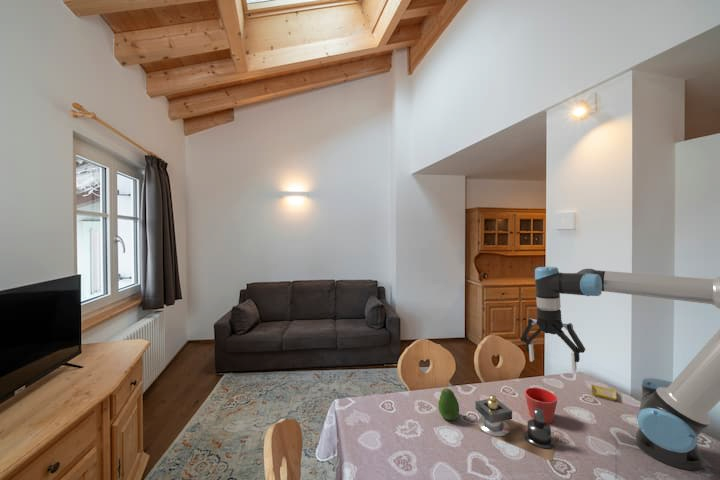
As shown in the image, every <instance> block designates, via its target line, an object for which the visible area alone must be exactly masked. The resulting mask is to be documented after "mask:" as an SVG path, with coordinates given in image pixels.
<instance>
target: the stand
mask: <svg viewBox="0 0 720 480" xmlns="http://www.w3.org/2000/svg"><path fill="white" fill-rule="evenodd" d="M527 426H528V430H527V431H526V432H525V438H526V440H527V441H528V442H529V443H530V444H532V445H534V446H536V447H538V448H542V449H551V448H553V447H554V445H555V442H554V440H553V438H552V437H551V435H552V433H551V432H552V429H551V428H552V427H551V426H550V425H549V423H545V422H544V411H543V410H542V409H540V408H534V419H533V418H531V419H529V420H528V421H527Z"/></svg>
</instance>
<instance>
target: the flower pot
mask: <svg viewBox="0 0 720 480" xmlns="http://www.w3.org/2000/svg"><path fill="white" fill-rule="evenodd" d="M524 393H525V394H524V395H525V399H526V401H525V402H526V406H527V410H528V414H529V416H530V418H531V419H534V408H540V409H542V410H543V411H544V422H545V423H547V424H550V423H553V421H554V418H555V413H556V409H557V402H558V398H557V395H555V394H554V393H553V392H551V391H548V390H547V389H544V388H539V387H528V388H526V389H525V391H524Z"/></svg>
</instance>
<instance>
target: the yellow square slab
mask: <svg viewBox="0 0 720 480" xmlns="http://www.w3.org/2000/svg"><path fill="white" fill-rule="evenodd" d="M590 387H591V389H590V393H591V394H592V396H595V397H598V398H601V399H604V398H605V400H608V399H609V400H608V401H612V400H613V402H614V401H616V400H617V399H618V396H617V390H616V389H612V388H608V387H603V386H600V385H596V384H591V386H590ZM600 391H604V392H610V393H613V398H612V397H609V396H607V395H606V394H604V393H603V394H602V392H600Z"/></svg>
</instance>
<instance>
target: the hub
mask: <svg viewBox="0 0 720 480" xmlns="http://www.w3.org/2000/svg"><path fill="white" fill-rule="evenodd" d="M487 399H488V408H489V409H490V410H491V411H495V410H498V401H497V400H496V399H497V397H496V395H493V394H489V398H487ZM477 423H478V426H479V428H480V429H481V430H482V431H483V432H485V433H484V434H486V435H488V436H490V435H491V437H493V436H495V437H504V436H507V435H508V434H509V432H510V428H509V426H508V424H507V423H506V422H504V421H500V422H496V423H490V422H489V421H488V420H487V419H486V418H485V417H484V416H483V417H482V416H481V417H479V418H478V420H477ZM483 432H482V433H483ZM495 437H494V438H495Z"/></svg>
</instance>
